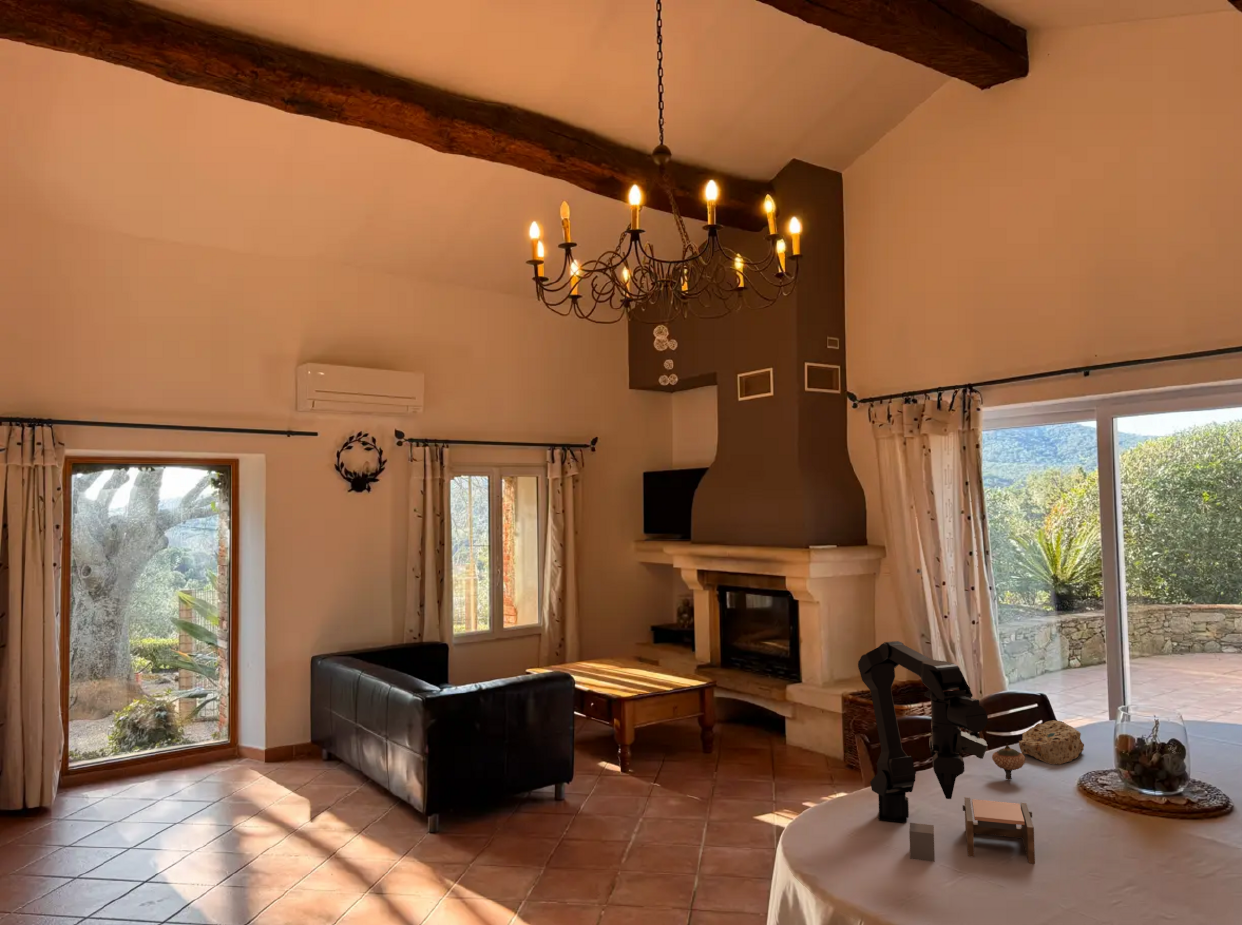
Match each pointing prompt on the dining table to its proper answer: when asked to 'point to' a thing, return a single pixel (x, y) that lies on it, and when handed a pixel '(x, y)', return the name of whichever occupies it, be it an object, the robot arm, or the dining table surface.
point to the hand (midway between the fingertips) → (947, 791)
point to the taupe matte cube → (922, 842)
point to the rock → (1052, 742)
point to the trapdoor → (997, 814)
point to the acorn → (1008, 760)
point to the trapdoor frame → (1001, 831)
